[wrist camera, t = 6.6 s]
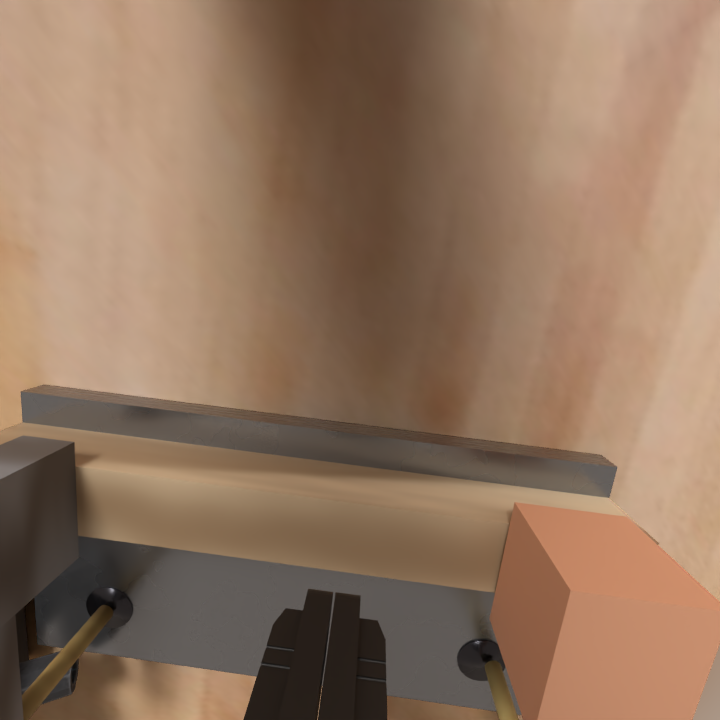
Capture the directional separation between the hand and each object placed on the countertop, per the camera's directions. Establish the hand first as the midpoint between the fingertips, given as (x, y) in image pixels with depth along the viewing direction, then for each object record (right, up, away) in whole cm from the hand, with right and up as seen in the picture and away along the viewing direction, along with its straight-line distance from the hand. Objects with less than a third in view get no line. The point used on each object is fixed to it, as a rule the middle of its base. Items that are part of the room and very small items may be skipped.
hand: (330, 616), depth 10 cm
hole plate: (-2, -2, +9) cm, 9 cm away
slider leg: (+8, -3, +7) cm, 11 cm away
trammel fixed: (-2, -2, +7) cm, 8 cm away
